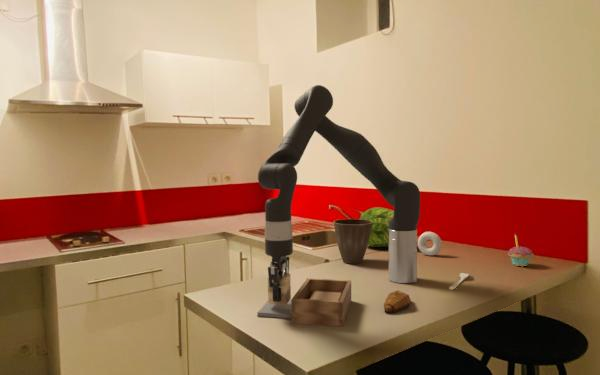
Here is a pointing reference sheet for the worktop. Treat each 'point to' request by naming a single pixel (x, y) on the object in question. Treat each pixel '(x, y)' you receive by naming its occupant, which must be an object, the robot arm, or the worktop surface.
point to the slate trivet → (276, 310)
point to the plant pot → (352, 238)
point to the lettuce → (378, 225)
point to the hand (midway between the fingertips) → (279, 297)
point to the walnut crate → (321, 302)
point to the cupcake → (520, 254)
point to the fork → (460, 279)
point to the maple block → (284, 291)
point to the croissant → (396, 301)
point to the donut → (434, 238)
